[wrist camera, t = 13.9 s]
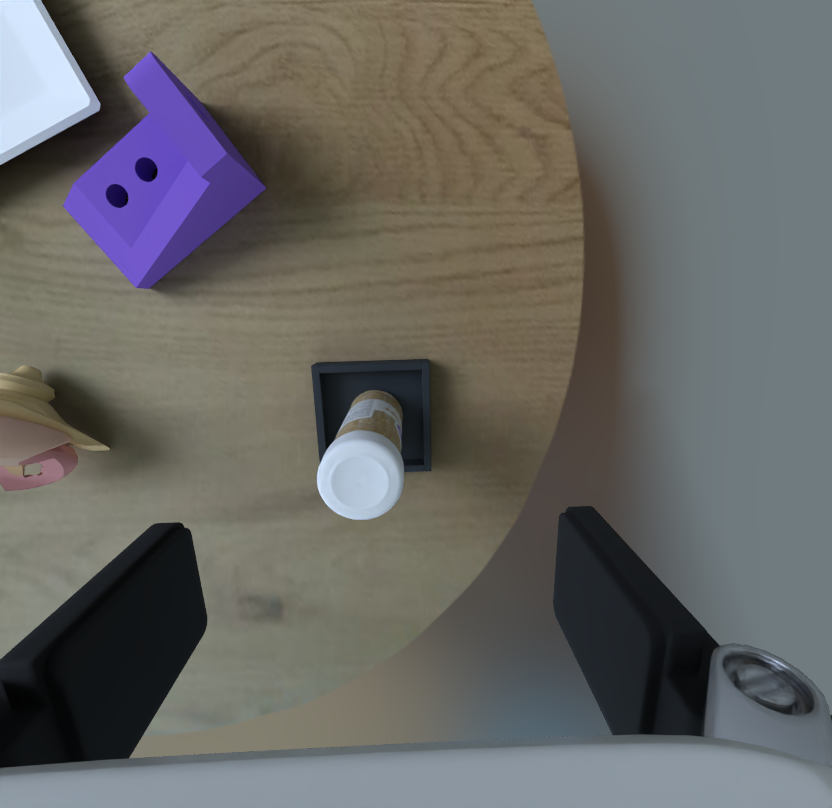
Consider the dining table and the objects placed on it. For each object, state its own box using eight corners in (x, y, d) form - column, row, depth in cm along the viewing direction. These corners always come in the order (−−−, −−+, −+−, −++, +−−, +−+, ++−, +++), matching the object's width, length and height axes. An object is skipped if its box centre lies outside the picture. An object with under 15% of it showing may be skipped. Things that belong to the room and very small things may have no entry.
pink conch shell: (-20, 365, 32) (-44, 329, 25) (125, 404, 38) (139, 384, 31) (-82, 478, 29) (-128, 473, 22) (86, 501, 35) (92, 503, 28)
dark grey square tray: (427, 358, 33) (429, 362, 31) (429, 462, 35) (431, 471, 33) (316, 362, 33) (311, 365, 31) (325, 466, 35) (321, 475, 33)
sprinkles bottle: (411, 427, 34) (418, 503, 21) (362, 448, 34) (339, 536, 21) (389, 379, 33) (381, 427, 20) (339, 400, 33) (299, 462, 20)
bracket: (200, 101, 28) (138, 37, 21) (266, 188, 29) (227, 153, 23) (80, 211, 29) (-14, 183, 23) (148, 288, 31) (79, 283, 24)
